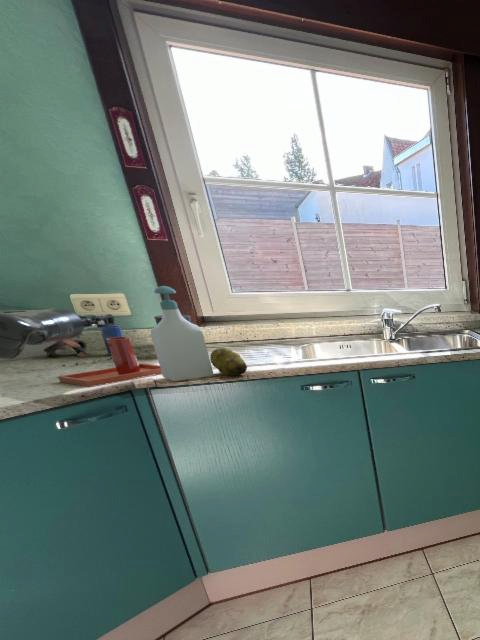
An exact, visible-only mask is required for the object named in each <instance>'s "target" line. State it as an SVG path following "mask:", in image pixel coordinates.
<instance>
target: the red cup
mask: <svg viewBox="0 0 480 640" xmlns="http://www.w3.org/2000/svg"><path fill="white" fill-rule="evenodd" d="M106 341H107V344H108V347H109V350H110V353H111V356H110V357H111V358H112V359H111V360H112V362H113V365H114V367H115V368H116V371H117V373H118V375H124V374H129V373H135V372H141V371H140V367H139V361H138V358H137V355H136V351H135V348H134V345H133V342H132V339H131V337H129V336H124V337H113V338H107V339H106Z"/></svg>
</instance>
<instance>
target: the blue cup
mask: <svg viewBox="0 0 480 640" xmlns="http://www.w3.org/2000/svg"><path fill="white" fill-rule="evenodd" d="M99 330H100V333H101V334H100V335H101V336H102V339H103V343H104V346H105V348H106V352H107V354H108V356H109V359H110V360H113V359H112V356H111V353H110V350H109V347H108V344H107V341H106V339H107V338H113V337H125V336H124V333H123V330H122V327H121V325H111V326H106V327H102V328H99Z"/></svg>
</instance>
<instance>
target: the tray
mask: <svg viewBox="0 0 480 640" xmlns="http://www.w3.org/2000/svg"><path fill="white" fill-rule="evenodd" d="M138 364H139V367H140V371H141V372H135V373H129V374H124V375H118V373H117V371H116V368H115V366H114V367H109V368H103V369H96V370H89V371H83V372H77V373H70V374H65V375H59V376H58V375H57V376H58V380H59V382H60V383H64V384H71V385H76V386H82V387H88V386H92V387H94V386H93V385H98V386H100V385H99V384H103V385H107V384H106V383H109V384H113V383H112V382H114V383H119V382H118V381H120V382H125V381H129V379H131V380H134V379H133V378H136V379H138V378H137V377H142V376H147V377H149V376H148V375H153V374H158V375H160V374H159V373H162V371H161V368H160V365H158V364H150V363H144V362H141V363H140V362H138ZM153 376H154V375H153ZM142 378H143V377H142ZM124 380H125V381H124Z"/></svg>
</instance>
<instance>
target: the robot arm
mask: <svg viewBox="0 0 480 640" xmlns="http://www.w3.org/2000/svg"><path fill="white" fill-rule="evenodd" d="M106 326H116V323H115V317H114V315H113V314H112V313H107V314H101V315H96V314H92V313H91V314H79V313H78V314H77V313H74V312H72V311H70V310H67V309H63V308H57V309H51V310H44V311H39V312H35V313H33V314H27V315H19V314H12V313H8V312H2V311H1V312H0V360H5V361H6V360H13V359H16V358H19V357H20V356H21V355H22V353H23V351H24V349H25V347H26V345H27V346H40V345H44V344H45V345H46V344H49V343H56V342H58V341H62V340H66V339H67V340H71V339H75V338H78V337H79V336H80V335H81V334H82V333H83V331H84V330H87V329H92V328H93V329H94V328H99V329H100V328H102V327H106Z"/></svg>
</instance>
